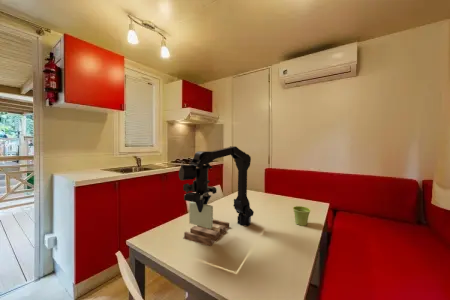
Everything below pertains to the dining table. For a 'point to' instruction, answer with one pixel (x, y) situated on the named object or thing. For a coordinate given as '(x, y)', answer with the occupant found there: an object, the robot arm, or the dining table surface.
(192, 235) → the rack
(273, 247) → the dining table surface
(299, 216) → the plant pot
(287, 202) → the dining table surface
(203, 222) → the sheet
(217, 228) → the offcut
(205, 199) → the robot arm
